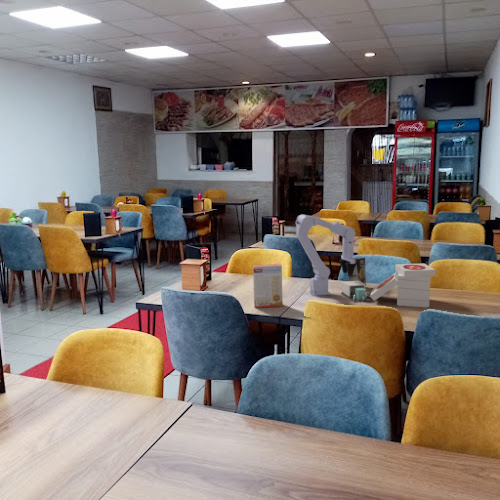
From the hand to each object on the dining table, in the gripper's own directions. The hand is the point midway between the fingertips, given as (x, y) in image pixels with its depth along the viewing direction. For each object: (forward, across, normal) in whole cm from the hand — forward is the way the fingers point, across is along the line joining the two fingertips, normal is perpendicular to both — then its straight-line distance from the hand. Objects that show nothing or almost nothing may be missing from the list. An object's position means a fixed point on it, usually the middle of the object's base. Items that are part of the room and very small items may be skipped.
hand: (347, 274), depth 280 cm
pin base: (+9, -12, 0) cm, 16 cm away
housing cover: (+9, -8, 0) cm, 12 cm away
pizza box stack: (+10, -26, -18) cm, 34 cm away
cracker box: (+10, -15, +48) cm, 51 cm away
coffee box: (+9, +5, -8) cm, 13 cm away
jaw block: (+9, -17, 0) cm, 19 cm away
